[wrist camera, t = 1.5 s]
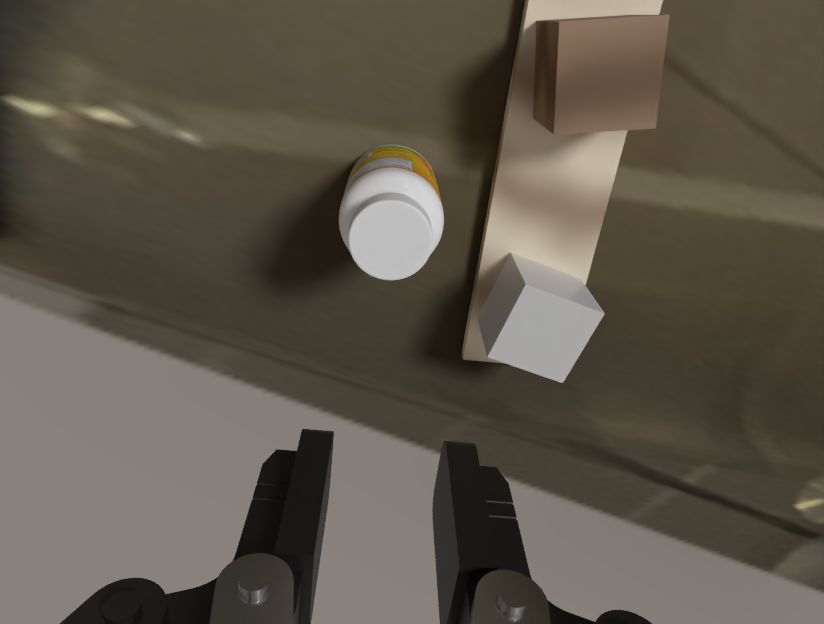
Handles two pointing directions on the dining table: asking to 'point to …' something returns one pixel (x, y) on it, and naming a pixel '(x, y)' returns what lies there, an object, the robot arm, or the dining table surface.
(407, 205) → the supplement bottle
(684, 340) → the dining table surface
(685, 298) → the dining table surface
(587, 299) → the grey block
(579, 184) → the birch strip
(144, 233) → the dining table surface
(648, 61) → the walnut block
